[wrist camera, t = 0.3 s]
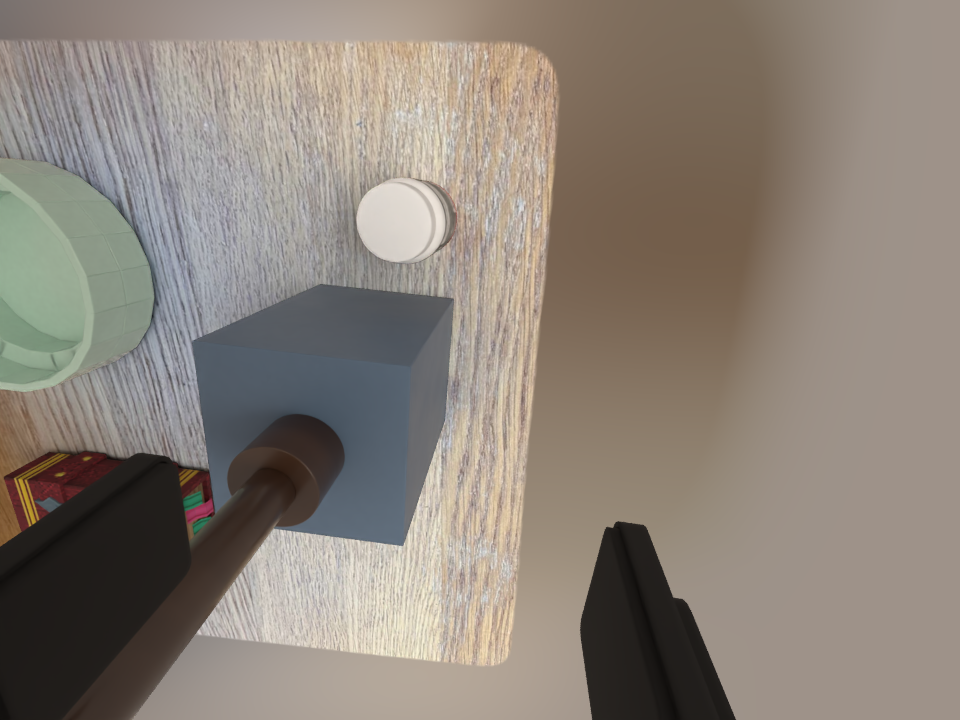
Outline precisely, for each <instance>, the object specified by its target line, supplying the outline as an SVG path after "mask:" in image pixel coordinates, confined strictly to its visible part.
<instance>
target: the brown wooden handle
mask: <svg viewBox="0 0 960 720" xmlns="http://www.w3.org/2000/svg"><path fill="white" fill-rule="evenodd" d="M344 461H345V453H344V448H343V445H342V442H341V440H340V438H339V437H338V435H337V434H336V433H335V432H334V430H333V429H332V428H331V427H329V426H328V425H327V424H326V423H324V422H323V421H321V420H319V419H317V418H314V417H312V416H308V415H303V414H291V415H286V416H283V417H281V418H279V419H277V420H276V421H274V422H273V423H272V424H271V425H270V426H269V427H267V428H266V429H265V430H264V431H263V432H262V433H261V434H260V435H259V436H258V437H257V438H256V439H254V440H253V441H252V442H251V443H250V444H249V445H248V446H247V447H246V448H245V449H244V450H242V451H241V452H240V453H239V454H238V455H237V456H236V457H235V458H234V459H233V461H232V462H231V464H230V466H229V469H228V472H227V484H228V489H229V492H230V494H231V496H232V497H231V498H230V499H229V500H228V501H227V502H226V503H225V504H224V505H223V506H222V507H221V508H220V509H219V510H218V511H217V513H216V514H215V515H214V516H213V517H212V518H211V519H210V520H209V521H208V522H207V523H206V524H205V525H204V526H203V527H202V528H201V529H200V530H199V531H198V532H197V533H196V534H195V536H194V537H193V538H192V539H191V540H190V541H189V544H190V551H191V557H192V561H191V566H190V569H189V571H188V573H187V575H186V576H185V577H184V579H183V580H182V581H181V582H180V583H179V584H178V586H177V587H176V588H175V589H174V590H173V591H172V593H171V594H170V595H169V596H168V597H167V598H166V600H165V601H164V602H163V603H162V604H161V605H160V606H159V608H158V609H157V610H156V611H155V612H154V613H153V615H152V616H151V617H150V618H149V619H148V620H147V622H146V623H145V624H144V625H143V626H142V627H141V629H140V630H139V631H138V632H137V633H136V634H135V635H134V637H133V638H132V639H131V640H130V641H129V642H128V644H127V645H126V646H125V647H124V648H123V649H122V651H121V652H120V653H119V654H118V655H117V656H116V658H115V659H114V660H113V661H112V662H111V663H110V664H109V666H108V667H107V668H106V669H105V670H104V671H103V673H102V674H101V675H100V676H99V677H98V678H97V680H96V681H95V682H94V683H93V684H92V685H91V687H90V688H89V689H88V690H87V691H86V692H85V693H84V695H83V696H82V697H81V698H80V699H79V700H78V702H77V703H76V704H75V705H74V706H73V707H72V709H71V710H70V711H69V712H68V713H67V714H66V716H65V717H64V718H63V719H62V720H132V719H133V718H134V716H135V715H136V713H137V712H138V711H139V710H140V708H141V707H142V706H143V704H144V703H145V701H146V700H147V699H148V697H149V696H150V695H151V693H152V692H153V691H154V689H155V688H156V687H157V685H158V684H159V683H160V681H161V680H162V678H163V677H164V676H165V674H166V673H167V672H168V670H169V669H170V668H171V666H172V665H173V664H174V662H175V661H176V660H177V658H178V657H179V655H180V654H181V653H182V651H183V650H184V649H185V647H186V646H187V645H188V643H189V642H190V641H191V639H192V638H193V637H194V635H195V634H196V632H197V631H198V630H199V628H200V627H201V626H202V624H203V623H204V622H205V620H206V619H207V618H208V616H209V615H210V614H211V612H212V611H213V609H214V608H215V607H216V605H217V604H218V603H219V601H220V600H221V599H222V597H223V596H224V595H225V593H226V592H227V591H228V589H229V588H230V586H231V585H232V584H233V582H234V581H235V580H236V578H237V577H238V576H239V574H240V573H241V572H242V570H243V569H244V568H245V566H246V565H247V563H248V562H249V561H250V559H251V558H252V557H253V555H254V554H255V553H256V551H257V550H258V549H259V547H260V546H261V545H262V543H263V542H264V540H265V539H266V538H267V536H268V535H269V534H270V532H271V531H272V530H273V528H274V527H290V526H295V525H298V524H301V523H303V522H305V521H306V520H308V519H309V518H310V517H311V516H312V515H313V514H314V513H315V511H316V510H317V508H318V506H319V505H320V503H321V502H322V500H323V499H324V497H325V496H326V494H327V493H328V491H329V489H330V488H331V486H332V485H333V483H334V482H335V480H336V479H337V477H338V476H339V474H340V472H341V471H342V468H343V466H344Z"/></svg>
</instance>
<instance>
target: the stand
mask: <svg viewBox="0 0 960 720" xmlns="http://www.w3.org/2000/svg"><path fill="white" fill-rule="evenodd" d="M453 305H454V299H450V298H441V297H432V296H423V295H414V294H405V293H396V292H387V291H378V290H369V289H360V288H351V287H341V286H332V285H323V284H320V285H318V286H315V287H313V288H311V289H309V290H306V291H304V292H302V293H300V294H297V295H295V296H293V297H291V298H288V299H286V300H284V301H282V302H279V303H277V304H275V305H272V306H270V307H268V308H266V309H263V310H261V311H259V312H257V313H254V314H252V315H250V316H248V317H245V318H243V319H241V320H239V321H236V322H234V323H232V324H230V325H227V326H225V327H223V328H221V329H218V330H216V331H214V332H212V333H209V334H207V335H205V336H203V337H200V338H198V339H196V340H194V341H192V345H193V352H194V360H195V367H196V374H197V382H198V389H199V396H200V404H201V411H202V419H203V426H204V433H205V441H206V448H207V456H208V463H209V470H210V478H211V485H212V493H213V500H214V507H215V514H216V513H217V511H218V510H219V509H220V508H221V507H222V506H223V505H224V504H225V503H226V502H227V501H228V500H229V499H230V498H231V497H232V496H231V494H230V492H229V489H228V484H227V472H228V469H229V466H230V464H231V462H232V461H233V459H234V458H235V457H236V456H237V455H238V454H239V453H240V452H241V451H242V450H244V449H245V448H246V447H247V446H248V445H249V444H250V443H251V442H252V441H253V440H254V439H256V438H257V437H258V436H259V435H260V434H261V433H262V432H263V431H264V430H265V429H266V428H267V427H269V426H270V425H271V424H272V423H273V422H274V421H276V420H277V419H279V418H281V417H283V416H286V415H291V414H303V415H308V416H312V417H314V418H317V419H319V420H321V421H323V422H324V423H326V424H327V425H328V426H329V427H331V428H332V429H333V430H334V432H335V433H336V434H337V435H338V437H339V438H340V440H341V442H342V445H343V448H344V453H345V461H344V466H343V468H342V471H341V472H340V474H339V476H338V477H337V479H336V480H335V482H334V483H333V485H332V486H331V488H330V489H329V491H328V493H327V494H326V496H325V497H324V499H323V500H322V502H321V503H320V505H319V506H318V508H317V510H316V511H315V513H314V514H313V515H312V516H311V517H310V518H309V519H308V520H306V521H305V522H303V523H301V524H298V525H295V526H290V527H274V528H273V529H281V530H288V531H296V532H303V533H310V534H318V535H325V536H332V537H340V538H347V539H355V540H362V541H369V542H377V543H384V544H392V545H399V546H403V545H404V542H405V539H406V536H407V533H408V530H409V527H410V524H411V521H412V518H413V515H414V512H415V509H416V506H417V503H418V500H419V497H420V494H421V491H422V488H423V485H424V482H425V479H426V476H427V473H428V470H429V466H430V463H431V460H432V457H433V454H434V451H435V448H436V445H437V442H438V439H439V436H440V433H441V430H442V427H443V424H444V421H445V412H446V399H447V385H448V372H449V358H450V345H451V332H452V318H453Z"/></svg>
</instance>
